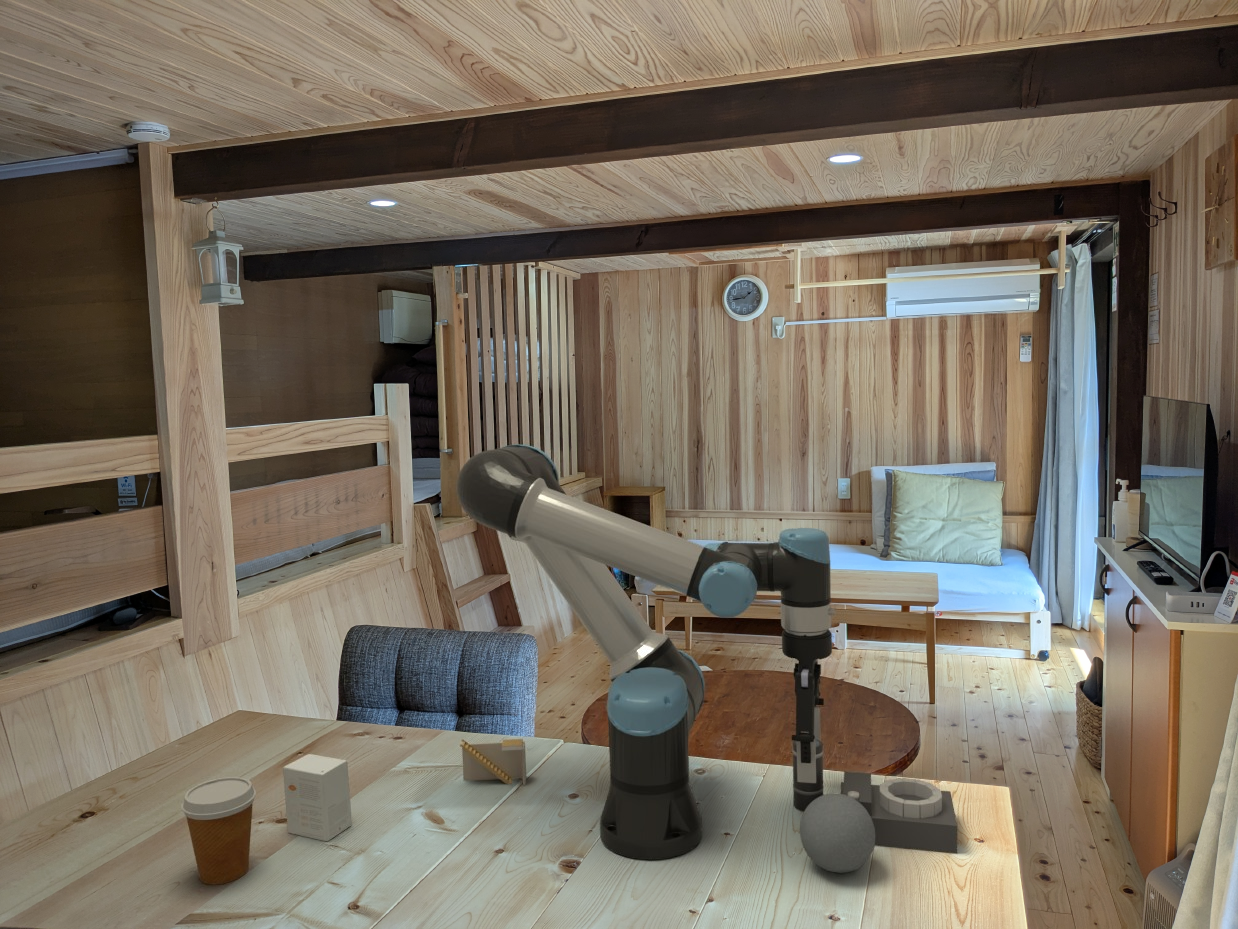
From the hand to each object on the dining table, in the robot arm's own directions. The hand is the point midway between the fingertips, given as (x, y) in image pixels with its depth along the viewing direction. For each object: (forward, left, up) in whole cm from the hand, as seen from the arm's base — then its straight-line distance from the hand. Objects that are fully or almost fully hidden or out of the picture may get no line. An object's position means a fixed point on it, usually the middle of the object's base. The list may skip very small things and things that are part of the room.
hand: (809, 763), depth 142 cm
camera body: (+13, -5, -7) cm, 15 cm away
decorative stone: (+5, -18, -7) cm, 20 cm away
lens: (0, 0, -7) cm, 7 cm away
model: (-52, -2, -8) cm, 53 cm away
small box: (-72, -23, -7) cm, 76 cm away
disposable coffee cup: (-78, -37, -7) cm, 87 cm away
